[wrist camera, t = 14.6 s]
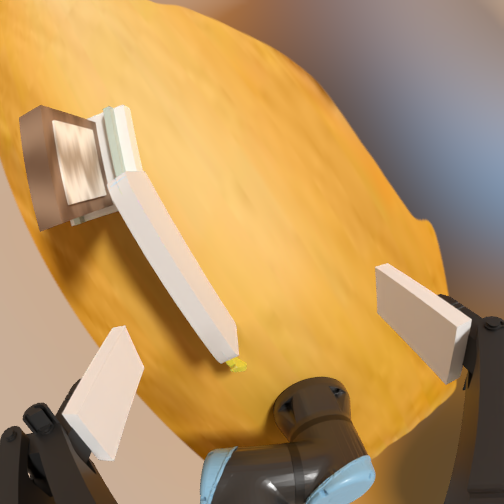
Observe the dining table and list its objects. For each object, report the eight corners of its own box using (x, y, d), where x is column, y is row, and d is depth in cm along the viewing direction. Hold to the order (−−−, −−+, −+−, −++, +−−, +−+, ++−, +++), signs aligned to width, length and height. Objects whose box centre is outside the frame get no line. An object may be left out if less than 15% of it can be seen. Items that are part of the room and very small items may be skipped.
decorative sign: (124, 184, 39) (97, 189, 30) (146, 170, 39) (123, 170, 30) (231, 356, 48) (233, 395, 39) (251, 346, 48) (257, 384, 38)
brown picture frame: (114, 204, 37) (64, 222, 23) (93, 211, 37) (38, 232, 23) (97, 121, 33) (42, 103, 20) (76, 130, 33) (17, 118, 20)
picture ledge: (150, 200, 40) (141, 204, 36) (80, 222, 40) (66, 228, 35) (130, 108, 36) (119, 102, 32) (61, 136, 36) (46, 134, 31)
